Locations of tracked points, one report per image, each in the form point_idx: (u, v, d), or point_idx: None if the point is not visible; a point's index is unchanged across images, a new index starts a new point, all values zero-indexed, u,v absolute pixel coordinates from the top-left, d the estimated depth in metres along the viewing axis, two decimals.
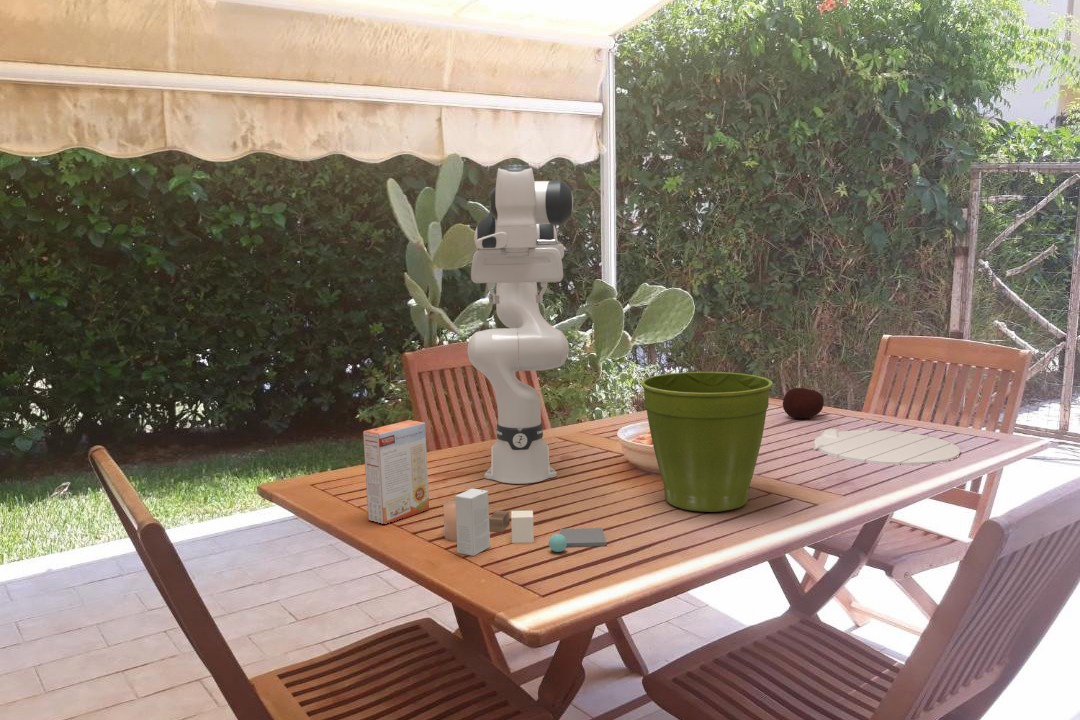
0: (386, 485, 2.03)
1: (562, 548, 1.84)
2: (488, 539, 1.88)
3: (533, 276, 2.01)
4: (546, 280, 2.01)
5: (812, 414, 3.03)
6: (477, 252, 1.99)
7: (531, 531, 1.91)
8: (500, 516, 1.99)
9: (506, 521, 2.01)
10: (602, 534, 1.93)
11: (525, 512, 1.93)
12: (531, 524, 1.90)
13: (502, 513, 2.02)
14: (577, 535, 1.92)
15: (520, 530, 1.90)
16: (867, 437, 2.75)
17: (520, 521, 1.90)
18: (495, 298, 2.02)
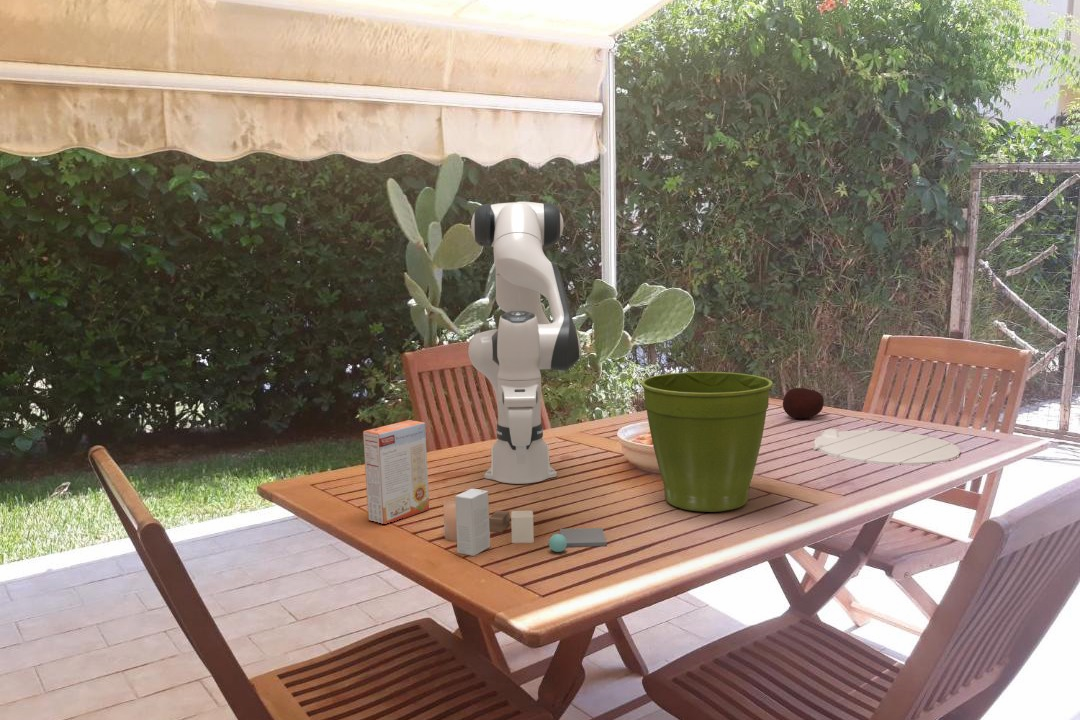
0: (386, 485, 2.03)
1: (562, 548, 1.84)
2: (488, 539, 1.88)
3: None
4: None
5: (812, 414, 3.03)
6: (532, 411, 1.81)
7: (531, 531, 1.91)
8: (500, 516, 1.99)
9: (506, 521, 2.01)
10: (602, 534, 1.93)
11: (525, 512, 1.93)
12: (531, 524, 1.90)
13: (502, 513, 2.01)
14: (577, 535, 1.92)
15: (520, 530, 1.90)
16: (867, 437, 2.75)
17: (520, 521, 1.90)
18: (525, 457, 1.86)
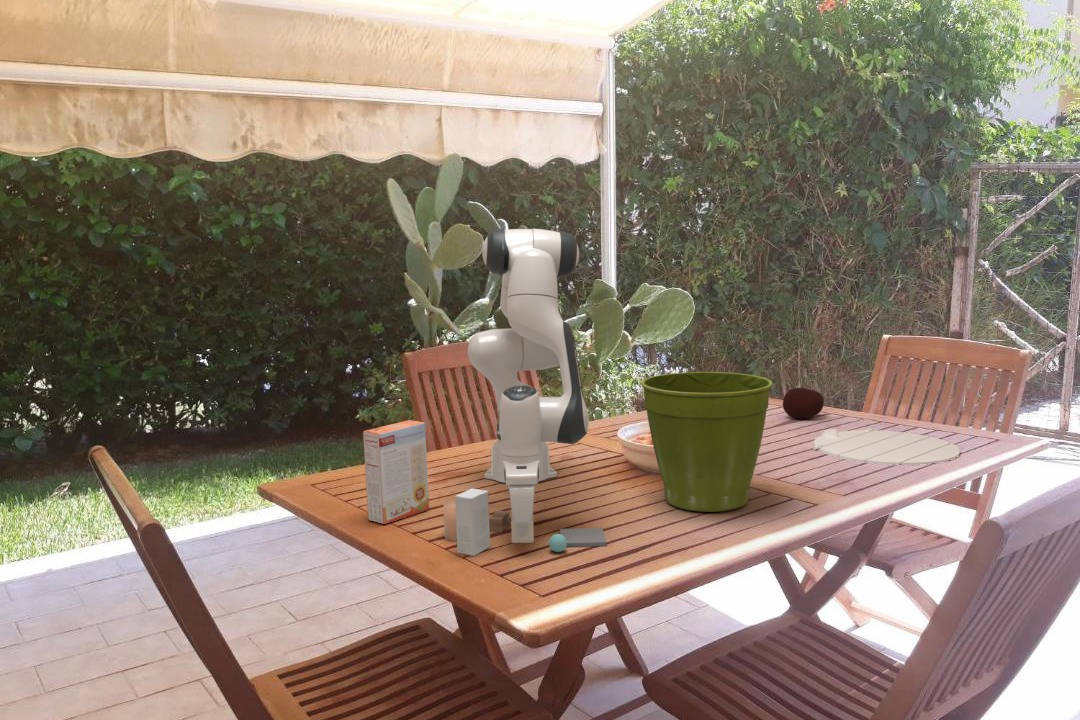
0: (386, 485, 2.03)
1: (562, 548, 1.84)
2: (488, 539, 1.88)
3: None
4: None
5: (812, 414, 3.03)
6: (534, 488, 1.83)
7: (531, 531, 1.91)
8: (500, 516, 1.99)
9: (506, 521, 2.01)
10: (602, 534, 1.93)
11: None
12: (531, 524, 1.90)
13: (502, 513, 2.01)
14: (577, 535, 1.92)
15: None
16: (867, 437, 2.75)
17: None
18: (526, 528, 1.90)
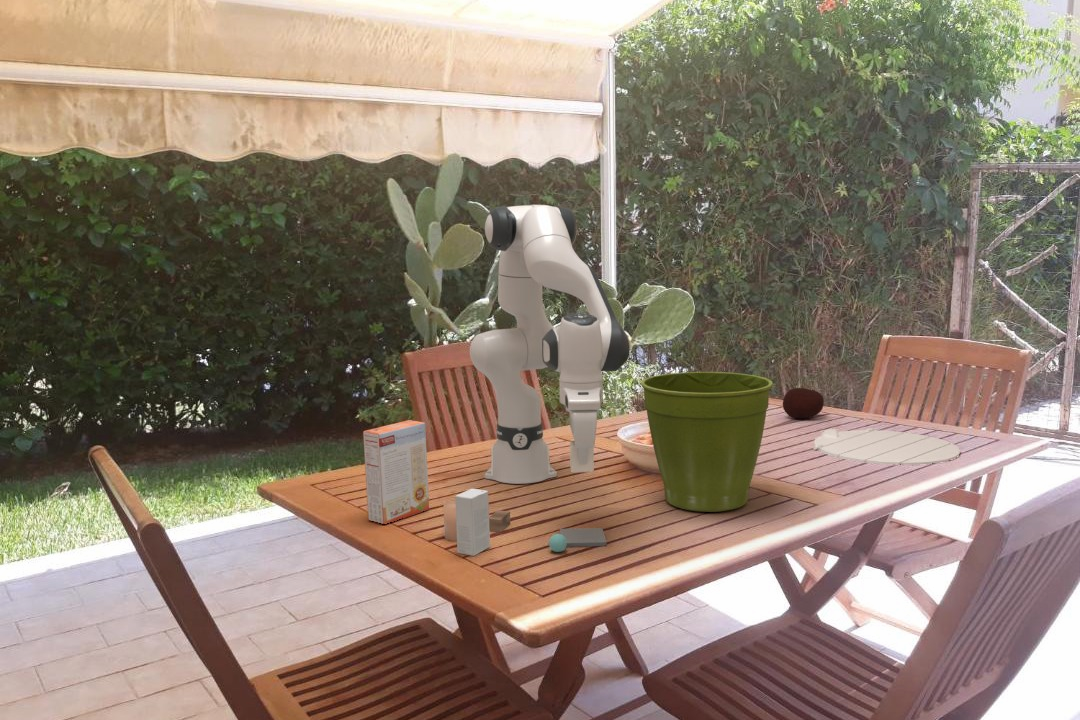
0: (386, 485, 2.03)
1: (562, 548, 1.84)
2: (488, 539, 1.88)
3: None
4: None
5: (812, 414, 3.03)
6: (596, 414, 1.80)
7: (591, 460, 1.88)
8: (500, 516, 1.99)
9: (506, 521, 2.01)
10: (602, 534, 1.93)
11: None
12: (591, 453, 1.88)
13: (502, 513, 2.01)
14: (577, 535, 1.92)
15: None
16: (867, 437, 2.75)
17: None
18: None
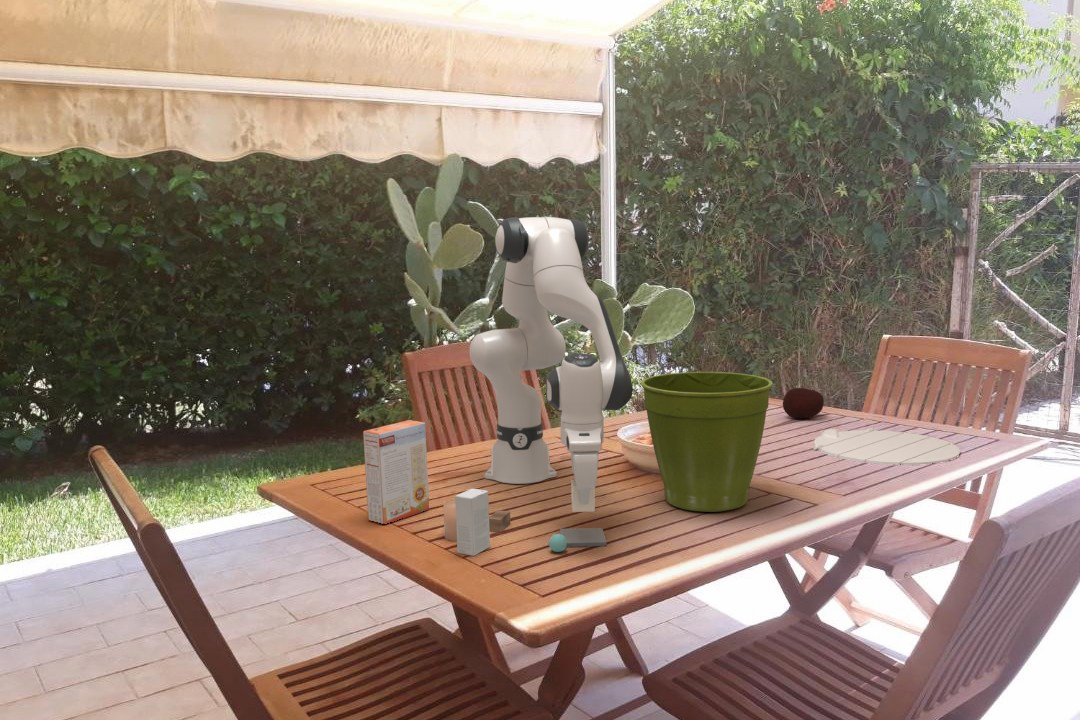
0: (386, 485, 2.03)
1: (562, 548, 1.84)
2: (488, 539, 1.88)
3: None
4: None
5: (812, 414, 3.03)
6: None
7: (592, 499, 1.89)
8: (500, 516, 1.99)
9: (506, 522, 2.01)
10: (602, 534, 1.93)
11: None
12: (592, 492, 1.89)
13: (502, 513, 2.01)
14: (577, 535, 1.92)
15: None
16: (867, 437, 2.75)
17: None
18: None
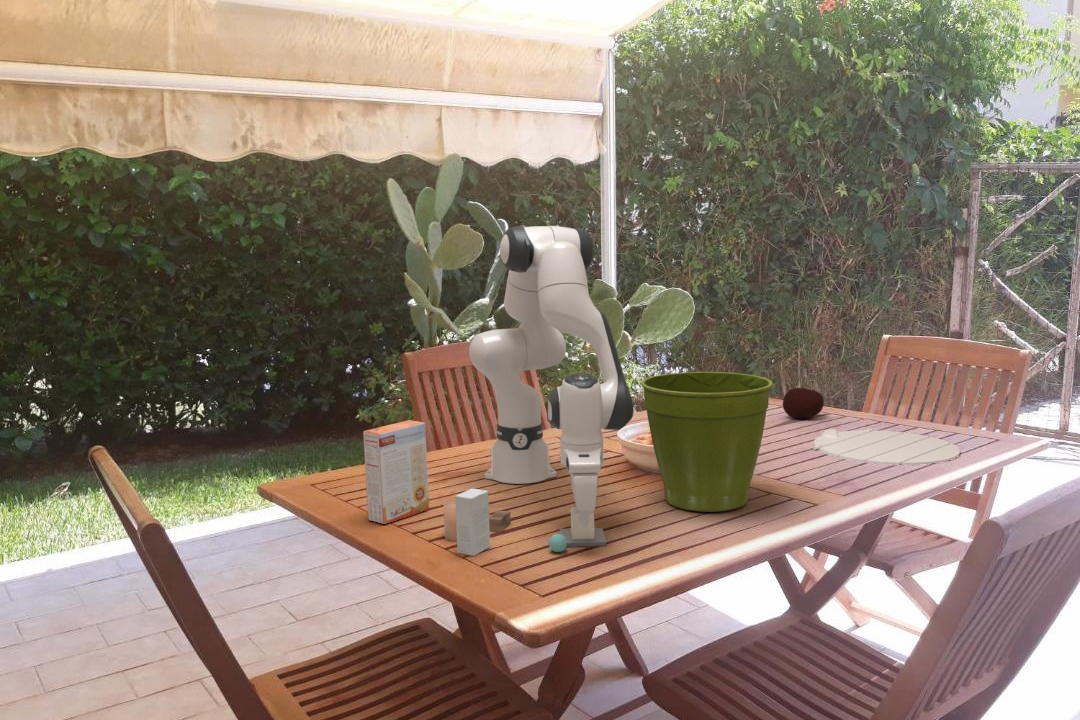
0: (386, 485, 2.03)
1: (562, 548, 1.84)
2: (488, 539, 1.88)
3: None
4: None
5: (812, 414, 3.03)
6: (597, 476, 1.82)
7: (592, 527, 1.90)
8: (500, 516, 1.99)
9: (506, 522, 2.01)
10: (602, 534, 1.93)
11: None
12: (592, 520, 1.90)
13: (503, 513, 2.01)
14: None
15: None
16: (867, 437, 2.75)
17: None
18: (588, 520, 1.87)
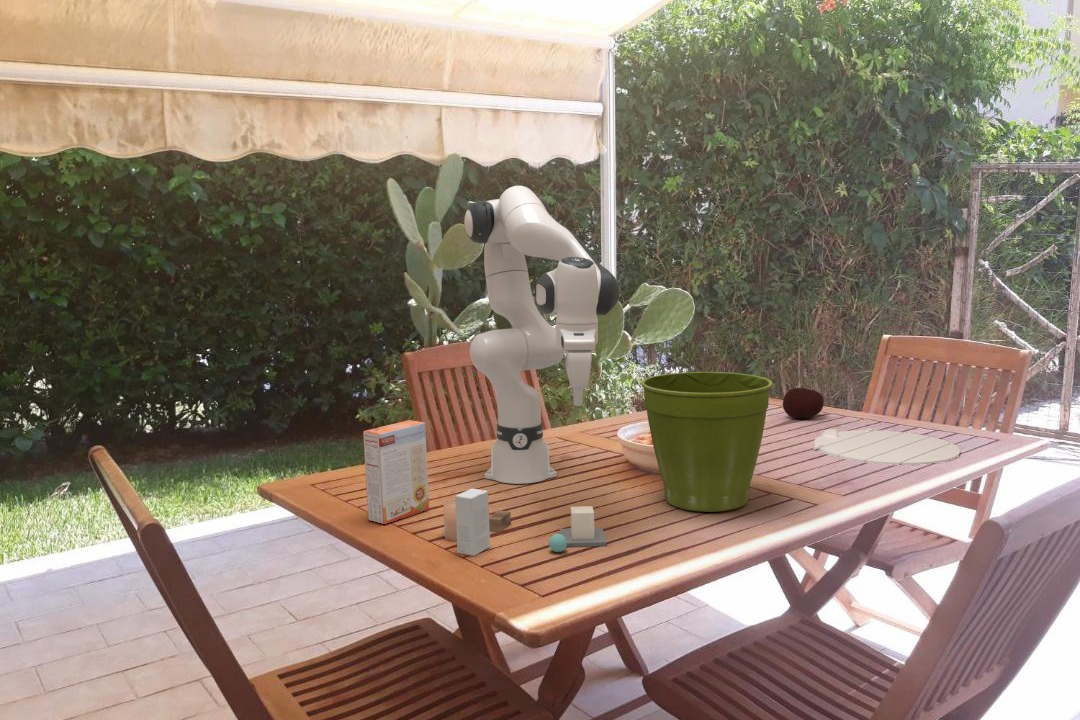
0: (386, 485, 2.03)
1: (562, 548, 1.84)
2: (488, 539, 1.88)
3: None
4: None
5: (812, 414, 3.03)
6: (591, 354, 1.86)
7: (592, 527, 1.90)
8: (500, 516, 1.99)
9: (506, 522, 2.01)
10: (602, 534, 1.93)
11: (585, 508, 1.93)
12: (592, 520, 1.90)
13: (503, 513, 2.01)
14: None
15: (581, 526, 1.90)
16: (867, 437, 2.75)
17: (581, 517, 1.89)
18: None
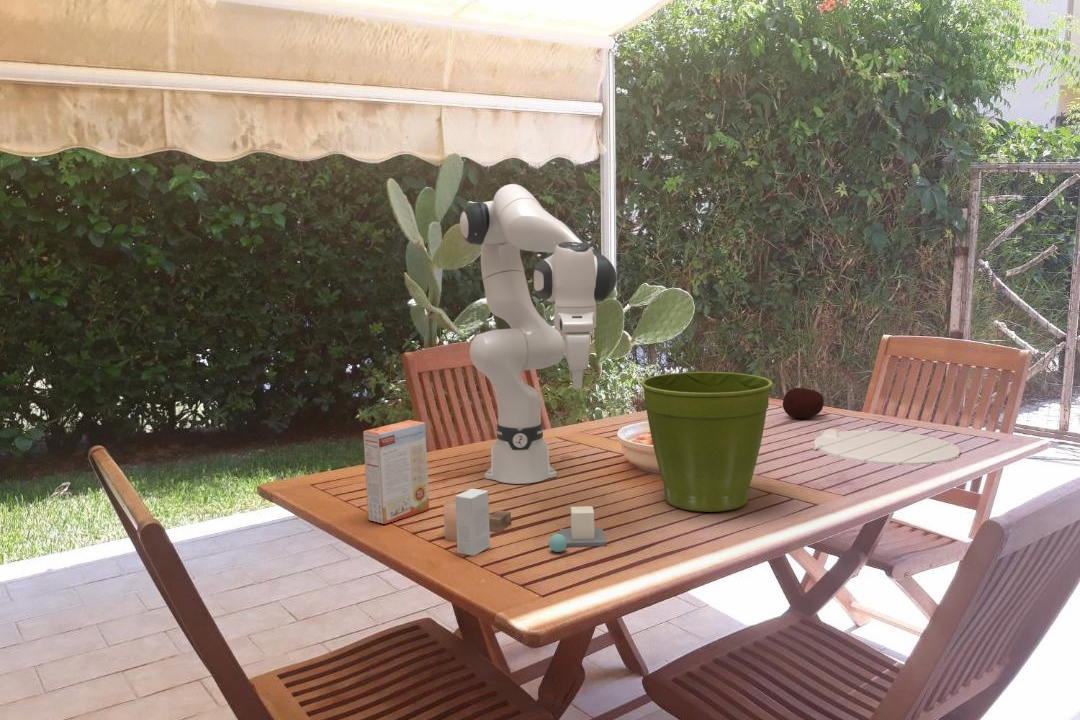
0: (386, 485, 2.03)
1: (562, 548, 1.84)
2: (488, 539, 1.88)
3: None
4: None
5: (812, 414, 3.03)
6: (590, 336, 1.87)
7: (592, 527, 1.90)
8: (500, 516, 1.99)
9: (506, 522, 2.01)
10: (602, 534, 1.93)
11: (585, 508, 1.93)
12: (592, 520, 1.90)
13: (503, 513, 2.01)
14: None
15: (581, 526, 1.90)
16: (867, 437, 2.75)
17: (581, 517, 1.89)
18: (581, 382, 1.92)
